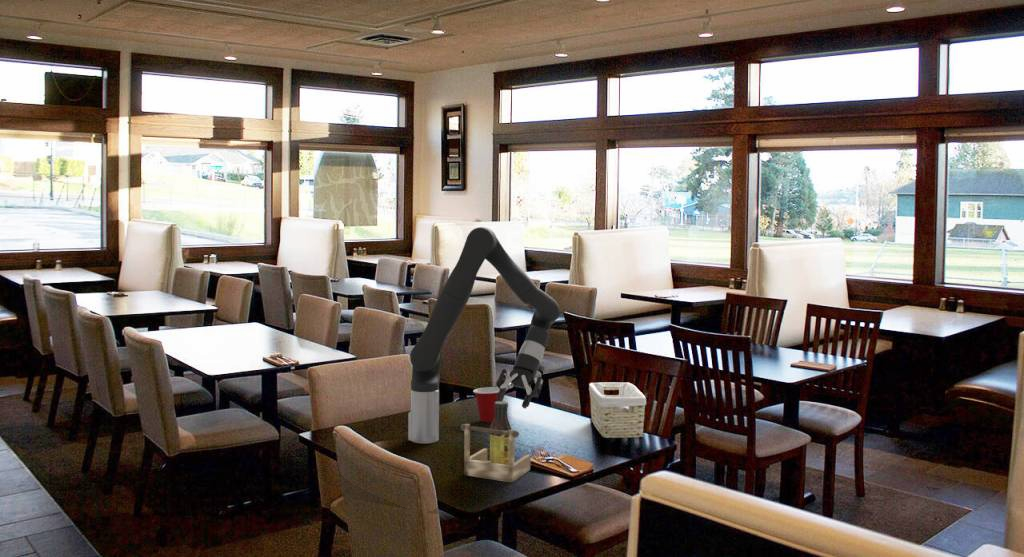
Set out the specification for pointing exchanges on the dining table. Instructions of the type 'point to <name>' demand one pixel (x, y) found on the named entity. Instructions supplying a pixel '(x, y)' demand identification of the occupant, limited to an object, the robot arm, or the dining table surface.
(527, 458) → the wooden table caddy
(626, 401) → the storage basket
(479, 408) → the plastic cup
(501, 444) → the sauce bottle
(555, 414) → the dining table surface
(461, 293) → the robot arm
